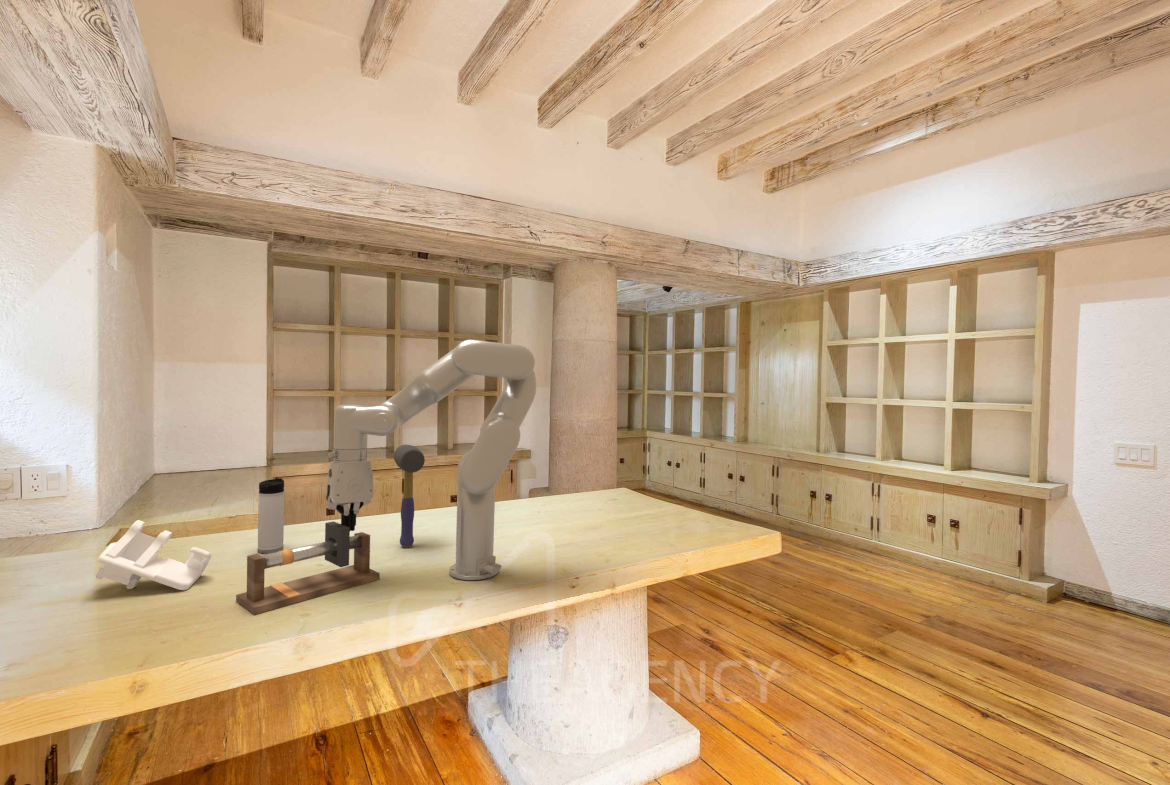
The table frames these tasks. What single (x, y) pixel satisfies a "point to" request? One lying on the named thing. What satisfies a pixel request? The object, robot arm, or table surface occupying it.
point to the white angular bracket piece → (149, 561)
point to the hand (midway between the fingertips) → (348, 530)
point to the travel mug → (271, 516)
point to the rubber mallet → (408, 488)
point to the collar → (338, 543)
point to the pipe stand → (306, 587)
